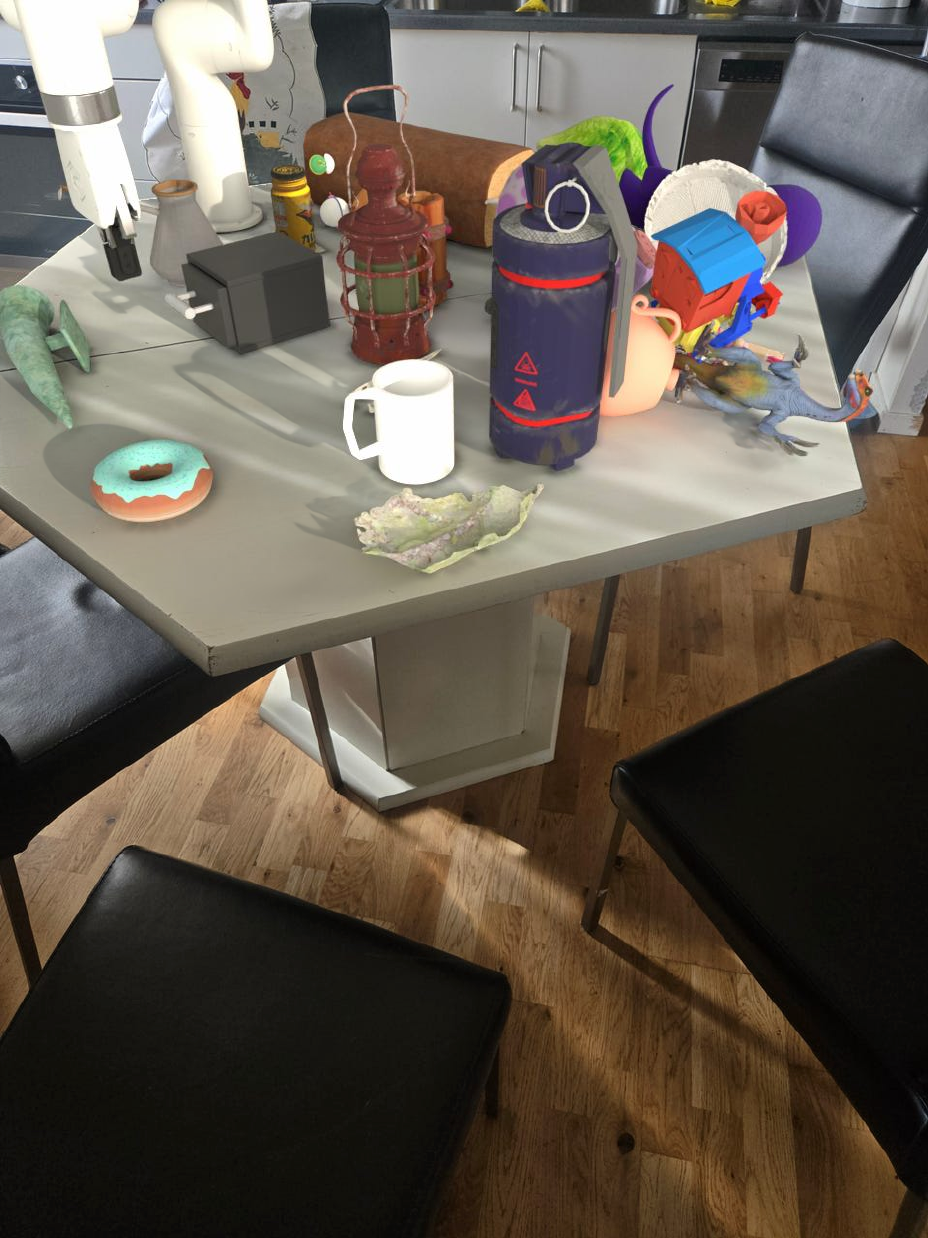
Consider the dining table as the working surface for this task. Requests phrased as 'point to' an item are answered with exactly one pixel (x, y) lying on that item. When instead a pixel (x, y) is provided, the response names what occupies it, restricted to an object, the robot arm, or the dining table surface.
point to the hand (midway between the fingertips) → (127, 275)
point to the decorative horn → (40, 343)
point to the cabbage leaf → (443, 525)
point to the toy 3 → (798, 200)
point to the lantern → (385, 257)
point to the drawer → (205, 304)
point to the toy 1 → (333, 205)
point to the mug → (436, 234)
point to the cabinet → (268, 288)
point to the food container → (710, 202)
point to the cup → (409, 421)
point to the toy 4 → (760, 351)
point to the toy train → (716, 270)
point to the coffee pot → (176, 228)
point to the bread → (419, 168)
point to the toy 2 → (645, 252)
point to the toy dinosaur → (763, 388)
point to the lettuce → (607, 142)
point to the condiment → (293, 205)
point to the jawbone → (369, 385)
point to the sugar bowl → (642, 361)
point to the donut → (139, 500)
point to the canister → (558, 305)
